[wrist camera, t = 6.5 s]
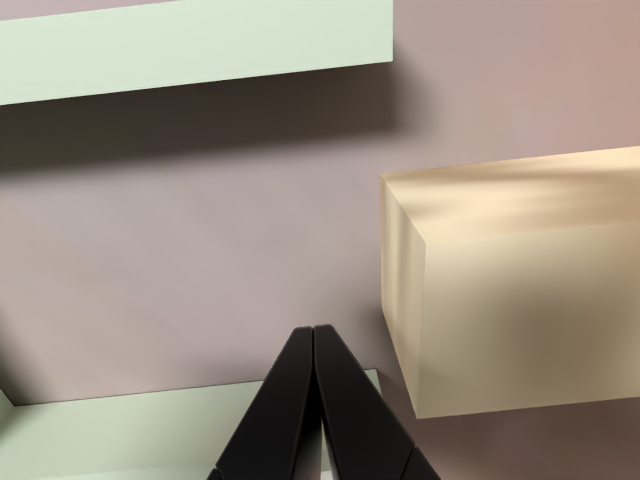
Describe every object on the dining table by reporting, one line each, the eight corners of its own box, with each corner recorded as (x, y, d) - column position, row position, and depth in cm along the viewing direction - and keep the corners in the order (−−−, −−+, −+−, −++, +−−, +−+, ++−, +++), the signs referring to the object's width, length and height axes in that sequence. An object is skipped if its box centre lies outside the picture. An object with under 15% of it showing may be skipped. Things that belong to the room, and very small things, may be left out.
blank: (380, 305, 13) (416, 419, 9) (378, 171, 10) (426, 243, 6) (601, 282, 13) (738, 386, 9) (648, 143, 10) (866, 197, 6)
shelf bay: (0, 428, 15) (-67, 511, 12) (-297, 77, 8) (-577, 87, 6) (376, 389, 14) (393, 464, 12) (363, 2, 8) (392, -24, 6)
